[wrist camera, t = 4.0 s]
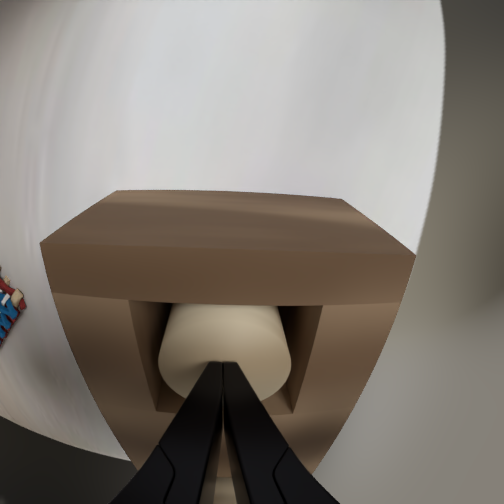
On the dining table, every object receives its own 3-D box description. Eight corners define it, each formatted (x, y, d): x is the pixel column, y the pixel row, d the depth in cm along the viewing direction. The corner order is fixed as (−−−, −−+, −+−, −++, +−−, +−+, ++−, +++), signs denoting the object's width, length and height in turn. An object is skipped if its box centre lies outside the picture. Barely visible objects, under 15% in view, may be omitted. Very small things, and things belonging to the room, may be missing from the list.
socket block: (283, 439, 20) (293, 498, 15) (165, 437, 19) (158, 497, 14) (341, 198, 12) (416, 255, 7) (116, 190, 11) (39, 243, 6)
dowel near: (264, 313, 14) (281, 406, 9) (184, 310, 14) (167, 404, 9) (272, 239, 13) (301, 320, 7) (181, 235, 12) (149, 316, 7)
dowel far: (253, 474, 15) (260, 543, 10) (196, 474, 15) (195, 542, 10) (258, 454, 14) (267, 537, 9) (190, 453, 13) (188, 536, 8)
